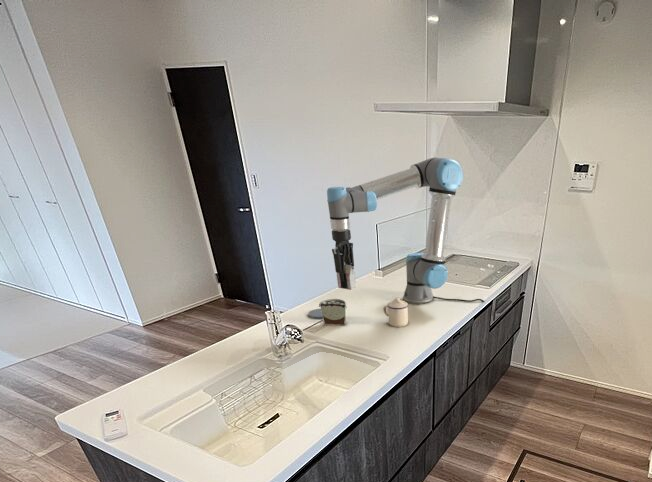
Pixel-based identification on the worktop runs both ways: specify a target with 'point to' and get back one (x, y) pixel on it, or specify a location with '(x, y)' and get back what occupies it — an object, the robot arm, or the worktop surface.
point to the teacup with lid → (397, 312)
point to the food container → (333, 311)
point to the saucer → (316, 314)
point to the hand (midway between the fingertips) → (347, 286)
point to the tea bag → (348, 278)
